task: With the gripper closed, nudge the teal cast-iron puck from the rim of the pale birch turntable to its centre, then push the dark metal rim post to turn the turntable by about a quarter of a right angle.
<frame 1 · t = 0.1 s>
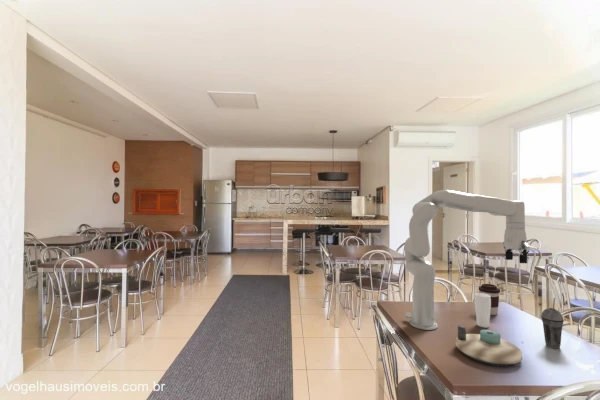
hand: (516, 261, 146), 31 cm above the table, tool pointing down, fingers open, 9 cm apart
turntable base: (487, 354, 118), on the table
beverage cup: (552, 347, 124), on the table
turntable plate: (487, 341, 118), point 5 cm above the table, hinge at 0.0°, touching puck
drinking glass: (483, 326, 146), on the table
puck: (490, 340, 122), point 3 cm above the table, touching turntable plate
coffee cup: (489, 313, 163), on the table
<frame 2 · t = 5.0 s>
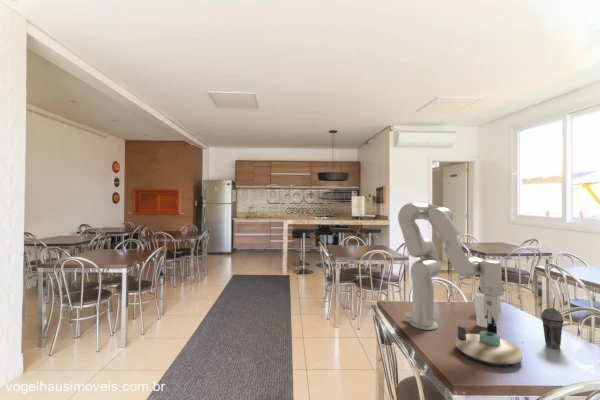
hand: (492, 335, 125), 5 cm above the table, tool pointing down, fingers closed
turntable plate: (487, 341, 118), point 5 cm above the table, hinge at -0.2°
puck: (489, 342, 121), point 3 cm above the table, touching gripper
everything else where it was.
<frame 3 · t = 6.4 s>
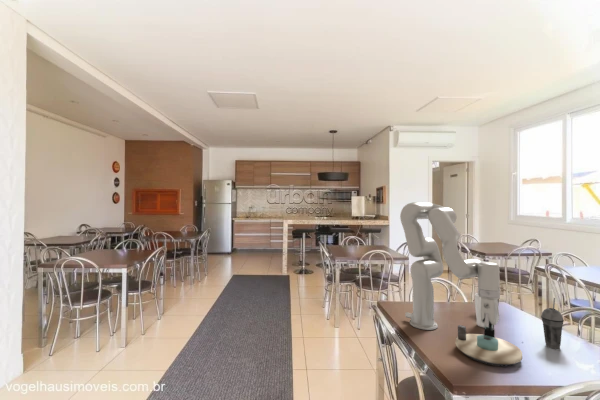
hand: (489, 338, 121), 4 cm above the table, tool pointing down, fingers closed
turntable plate: (487, 341, 118), point 5 cm above the table, hinge at -0.5°, touching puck
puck: (487, 346, 117), point 3 cm above the table, touching turntable plate
everything else where it was.
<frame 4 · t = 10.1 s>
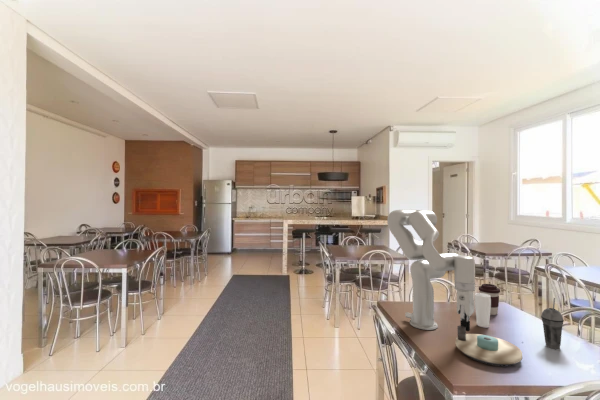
hand: (465, 329, 126), 6 cm above the table, tool pointing down, fingers closed
turntable plate: (487, 341, 118), point 5 cm above the table, hinge at 2.2°, touching gripper, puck
everything else where it was.
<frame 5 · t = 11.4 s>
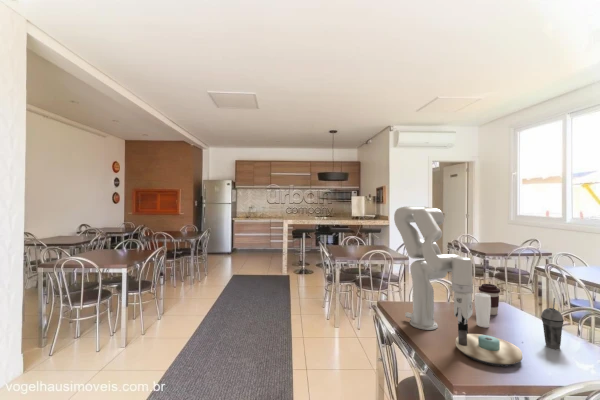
hand: (463, 333, 122), 6 cm above the table, tool pointing down, fingers closed
turntable plate: (487, 341, 118), point 5 cm above the table, hinge at 32.9°, touching gripper, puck
everything else where it was.
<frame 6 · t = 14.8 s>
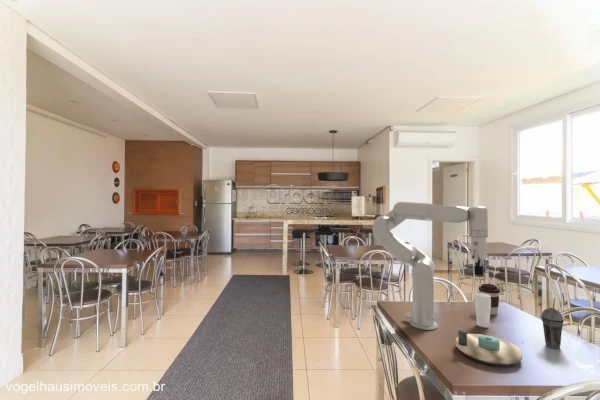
hand: (478, 274, 136), 27 cm above the table, tool pointing down, fingers closed
turntable plate: (487, 341, 118), point 5 cm above the table, hinge at 33.0°, touching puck
everything else where it was.
at the end: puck 0.9 cm from the turntable plate (horizontally); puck point 3.3 cm above the table; turntable plate at +33° (first picture: +0°) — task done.
